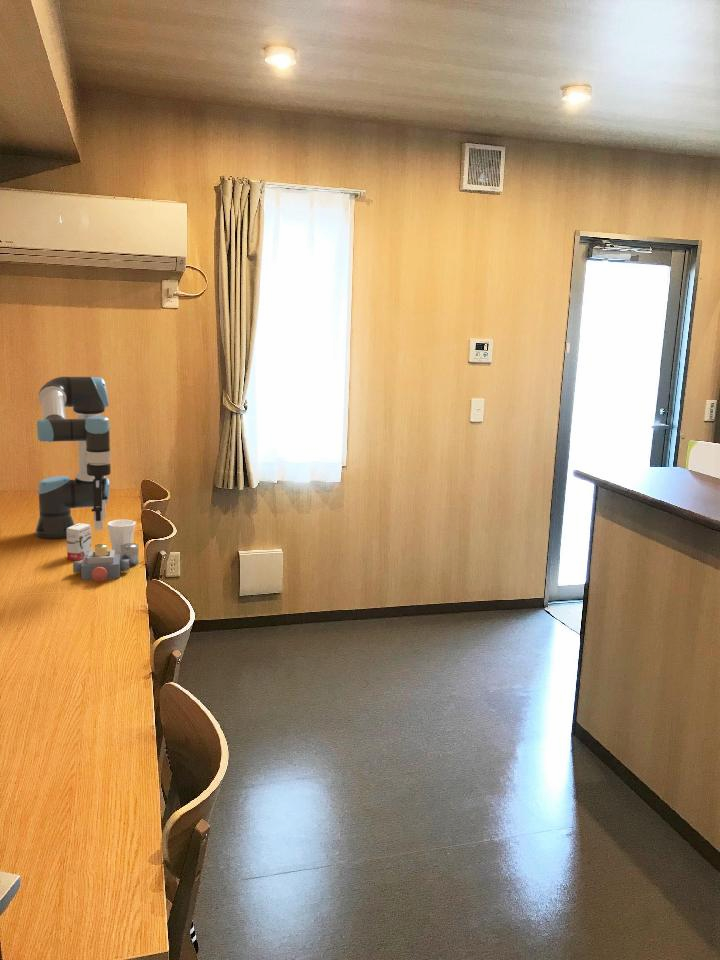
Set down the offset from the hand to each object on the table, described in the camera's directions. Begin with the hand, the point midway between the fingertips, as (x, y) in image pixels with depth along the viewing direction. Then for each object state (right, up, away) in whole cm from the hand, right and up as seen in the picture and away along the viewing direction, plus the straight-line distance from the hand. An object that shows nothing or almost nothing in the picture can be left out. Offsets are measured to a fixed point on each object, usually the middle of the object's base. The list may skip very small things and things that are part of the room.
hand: (100, 523), depth 242 cm
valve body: (0, -18, +1) cm, 18 cm away
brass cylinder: (-1, -16, +3) cm, 17 cm away
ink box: (-15, -14, +20) cm, 28 cm away
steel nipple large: (+6, -15, +14) cm, 22 cm away
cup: (0, -14, +22) cm, 26 cm away
